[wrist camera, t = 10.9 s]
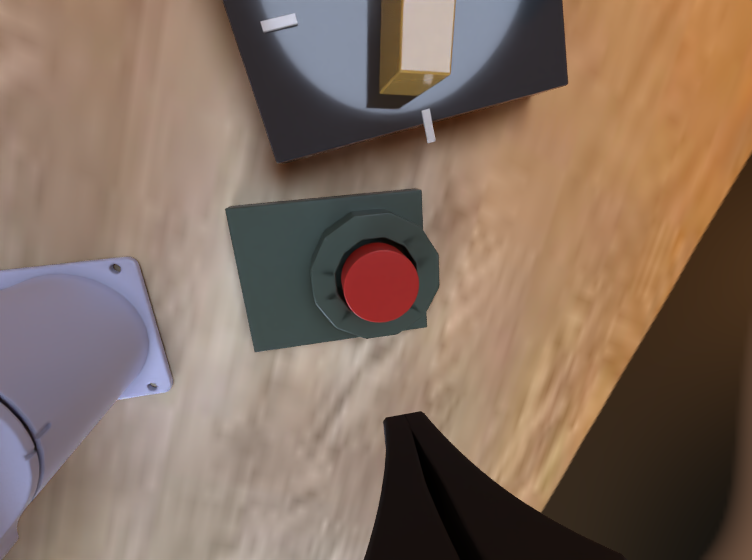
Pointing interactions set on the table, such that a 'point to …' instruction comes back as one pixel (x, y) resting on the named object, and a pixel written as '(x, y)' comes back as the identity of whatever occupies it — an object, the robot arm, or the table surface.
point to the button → (379, 282)
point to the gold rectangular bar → (415, 45)
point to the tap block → (362, 67)
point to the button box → (324, 264)
